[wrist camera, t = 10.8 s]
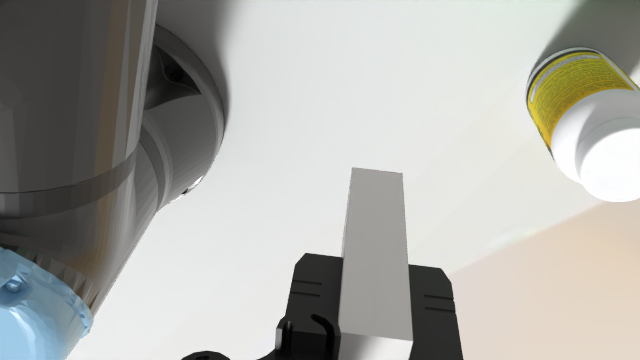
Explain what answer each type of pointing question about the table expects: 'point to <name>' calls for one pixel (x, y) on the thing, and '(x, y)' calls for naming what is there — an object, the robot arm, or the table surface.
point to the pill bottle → (589, 121)
